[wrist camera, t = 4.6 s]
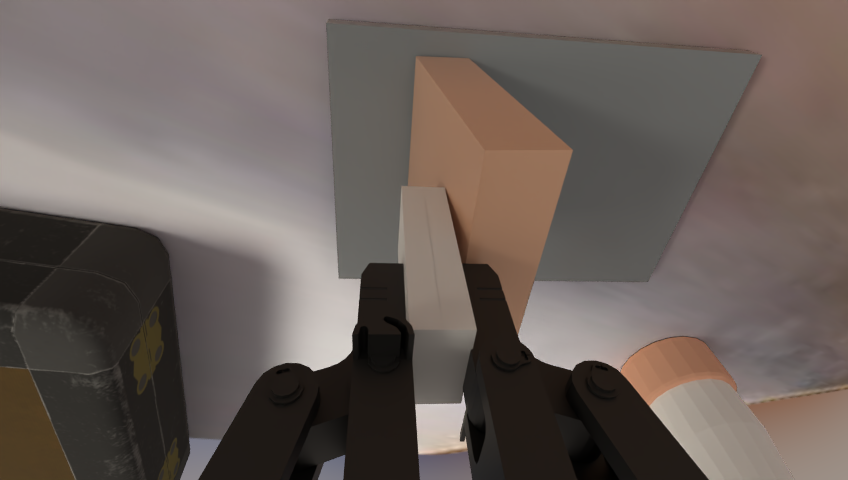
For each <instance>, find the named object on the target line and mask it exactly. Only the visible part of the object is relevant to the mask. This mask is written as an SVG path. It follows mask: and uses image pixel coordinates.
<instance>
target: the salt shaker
mask: <svg viewBox="0 0 848 480" xmlns="http://www.w3.org/2000/svg"><path fill="white" fill-rule="evenodd" d="M621 374H622V375H623V376H624V377H626V378H627V380H628V381H629V382H630V383H631V385H632V386H633V387H634V388H635V389H636V391H637V392H638V393H639V394H640V396H641V397H642V398H643V399H644V401H645V402H646V403H647V404H648V405H649V407H650V408H651V409H652V410H653V412H654V413H655V414H656V415H657V417H658V418H659V419H660V420H661V421H662V423H663V424H664V425H665V426H666V428H667V429H668V430H669V431H670V432H671V434H672V435H673V436H674V437H675V439H676V440H677V441H678V442H679V444H680V445H681V446H682V447H683V448H684V450H685V451H686V452H687V453H688V455H689V456H690V457H691V458H692V459H693V461H694V462H695V463H696V464H697V466H698V467H699V468H700V469H701V471H702V472H703V473H704V474H705V475H706V477H707V478H708V479H709V480H795V479H794V478H793V476H792V474H791V472H790V471H789V469H788V467H787V465H786V463H785V462H784V460H783V458H782V456H781V455H780V453H779V451H778V449H777V448H776V446H775V444H774V442H773V441H772V439H771V437H770V435H769V433H768V432H767V430H766V429H765V427H764V426H763V425H762V423H761V422H760V421H759V420H758V418H757V417H756V416H755V415H754V413H753V412H752V411H751V410H750V409H749V407H748V406H747V405H746V404H745V402H744V401H743V400H742V399H741V397H740V396H739V395H738V394H737V393H736V391H737V386H736V383H735V381H734V380H733V378H732V377H731V376H730V374H729V373H728V372H727V371H726V369H725V368H724V367H723V365H722V364H721V363H720V362H719V360H718V359H717V358H716V357H715V355H714V354H713V353H712V351H711V350H710V349H709V348H708V346H707V345H706V344H705V343H704V342H702V341H700V340H698V339H696V338H690V337H675V338H668V339H664V340H661V341H658V342H654V343H652V344H650V345H648V346H646V347H644V348H642V349H640V350H639V351H638V352H637V353H635V354H634V355H633V356H631V357H630V358H629V359H628V361H627V362H626V363H625V364H624V366H623V367H622V370H621Z"/></svg>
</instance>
